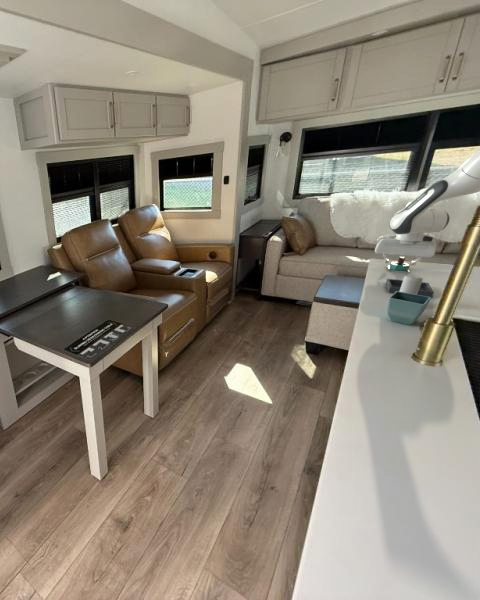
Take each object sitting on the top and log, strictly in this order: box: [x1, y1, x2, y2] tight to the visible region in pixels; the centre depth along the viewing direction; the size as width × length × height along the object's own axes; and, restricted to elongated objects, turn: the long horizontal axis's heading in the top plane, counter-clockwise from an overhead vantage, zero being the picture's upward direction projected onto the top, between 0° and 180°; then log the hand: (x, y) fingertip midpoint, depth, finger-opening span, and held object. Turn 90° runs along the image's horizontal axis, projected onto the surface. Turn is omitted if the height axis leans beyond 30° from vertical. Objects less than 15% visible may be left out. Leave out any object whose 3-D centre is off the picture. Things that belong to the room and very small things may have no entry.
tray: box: [385, 278, 435, 299], centre depth 131 cm, size 13×12×3 cm
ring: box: [389, 261, 411, 272], centre depth 153 cm, size 6×6×2 cm
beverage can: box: [399, 274, 424, 295], centre depth 118 cm, size 5×5×12 cm
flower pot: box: [386, 291, 432, 326], centre depth 109 cm, size 9×9×9 cm
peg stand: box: [387, 256, 411, 273], centre depth 152 cm, size 7×7×6 cm
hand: (399, 264), depth 152 cm, fingers open, 8 cm apart
